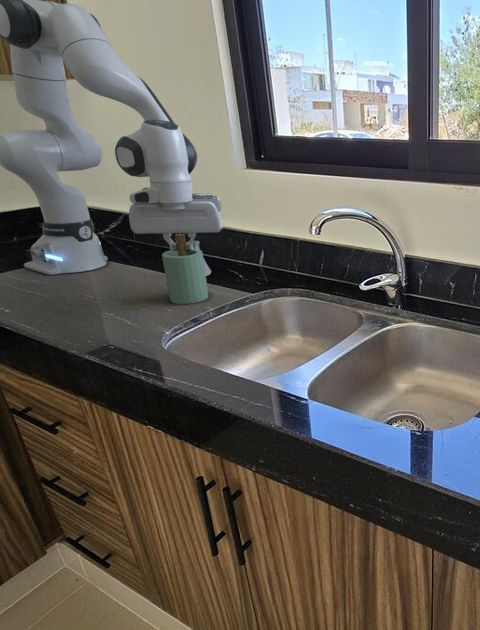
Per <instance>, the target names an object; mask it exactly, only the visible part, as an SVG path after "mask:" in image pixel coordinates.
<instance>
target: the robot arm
mask: <svg viewBox="0 0 480 630" xmlns="http://www.w3.org/2000/svg"><path fill="white" fill-rule="evenodd" d="M0 37H1V38H2V40H4V41H5V42H6V43H7V44H8V45H9V47H10V48H9V49H10V53H9V54H10V66H11V73H12V77H13V79H12V80H13V84H14V90H15V96H16V101H17V103H18V104H19V106H20V107H21V108H22V109H23V110H24V111H25V112H27V113H29V114H31V115H33V116H34V117H37V118H39V119H42V121H43V122H44V125H45V126H44V127H45V129H42V130H40V129H39V130H38V129H37V130H36V129H35V130H33V129H27V130H25V129H17V130H16V129H15V130H11V131H9V130H8V131H5V132H0V166H1V167H2V168H3V169H5V170H6V171H8V172H10V173H11V174H14V175H16V176H17V177H19V178H20V179H21V180H22V181H24V182H25V183H26V184H27V185H28V187H29V188H30V189H31V190H32V191H33V194H34V195H35V197H36V200H37V202H38V205H39V208H40V211H41V214H42V219H43V222H41V223H38V225H39V228H42V235H41V236H40V237H39V238H38V239H37V240H36V242H34V243H33V244H32V245H31V247H30V248H29V249H26V250H25V253H24V254H23V255H22V257H21V262H25V260H26V258H27V259H28V260H29V261H27V262H25V263H23V267H24V268H26V269H28V270H33V271H35V272H38V273H41V274H45V275H49V276H50V275H58V274H59V275H60V274H71V273H82V272H88V271H92V270H97V269H100V268H103V267H104V266H106V265H107V264H108V263H107V261H108V260H109V258H108V256H106V255H105V254H104V251H103V248H102V244H101V241H100V239H99V237H98V235H97V234H96V233H95V227H94V226H95V225H94V221H93V219H92V218H91V217H90V212H89V208H88V203H87V200H86V196H85V194H84V193H83V191H82V190H80V189H79V188H77V187H75V186H73V185H71V184H69V183H64V182H63V181H62V179H60V176H59V174H58V172H71V171H72V172H75V171H84V170H88V169H92V168H95V167H98V166H99V165H100V164H101V162H102V159H103V149H102V147H101V144H100V142H99V141H98V140H97V138H96V137H95V136H93V135H92V134H91V133H89V132H88V131H87V130H85V128H83V127H82V125H80V123H79V122H78V121H77V119H76V117H75V115H74V112H73V110H72V106H71V102H70V97H69V91H68V84H67V77H66V70H65V67H66V68H67V70H68V72H69V74H70V75H71V76H72V77H73V78H74V80H75V81H76V82H77V83H78V84H79V85H80V86H81V87H82V88H84V89H85V90H86V91H88V92H90V93H93V94H95V95H98V96H100V97H104V98H108V99H110V100H113V101H116V102H119V103H121V104H124V105H125V106H127V107H130V108H131V109H133V110H134V111H136V112H137V113H138V114H139V115H140V116H141V117H142V119H143V122H142V123H141V125H140V127H139V129H137V130H136V131H134V132H133V133H130V134H128V135H124V136H121V137H120V138H119V139H118V140H117V142H116V144H115V148H114V153H115V160H116V162H117V165H118V166H119V167H120V169H121V170H122V171H123V172H124V173H125V174H127V175H128V176H131V177H135V178H136V177H137V178H149V187H144V188H142V189H140V190H137V191H134V192H132V193H130V194H129V201H130V202H131V205H130V207H129V209H128V218H129V226H130V229H131V231H132V232H133V233H134V234H136V235H138V234H139V235H141V234H142V235H147V234H149V235H150V234H162V237H163V240H165V241H166V243H167V244H168V245H169V248H170V249H169V250H171V251H178V249H177V243H176V242H175V241H174V240H173V239H172V238H171V237H172V236H173V235H172V234H187V237H188V238H190V239H189V241H187V242H185V247H186V248H185V250H186V251H192V250H193V241H195V239H196V237H197V234H198V233H220V232H221V231H222V230H223V227H224V223H223V219H222V214H221V210H222V204H221V200H220V198H219V197H218V196H217V195H214V194H213V193H194V190H193V184H192V183H193V182H192V178H191V176H190V174H191V173H192V172H193V171H194V169H195V167H196V165H197V163H198V154H197V150H196V148H195V146H194V144H193V143H192V142H191V140H190V139H189V138H188V137H187V136H186V135H185V134H184V133H183V132H182V128H180V126H179V125H178V124H177V123H175V121H174V120H173V119H172V117H171V116H170V115H169V113H168V112H167V110H166V108H165V107H164V106H163V104H162V103H161V102H160V100H159V98H158V97H157V96H156V94H155V93H154V92H153V90H152V89H151V88H150V86H149V85H148V84H147V82H146V81H145V80H143V79H142V78H141V77H140V76H138V75H137V74H136V73H135V72H134V71H132V69H130V68H129V67H128V65H126V64H125V62H124V61H123V60H122V59H121V57H120V56H119V55H118V53H117V52H116V50H115V48H114V47H113V45H112V43H111V42H110V40H109V38H108V36H107V35H106V33H105V32H104V30H103V29H102V26H101V24H100V22H99V20H98V19H97V18H96V16H95V15H94V14H92V13H90V12H89V11H88V10H87V9H86V8H85V7H82V6H81V5H79V4H74V3H69V2H68V3H66V2H65V3H59V2H55V1H49V0H0ZM64 65H65V66H64Z"/></svg>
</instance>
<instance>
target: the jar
mask: <svg viewBox="0 0 480 630" xmlns="http://www.w3.org/2000/svg"><path fill="white" fill-rule="evenodd" d="M161 258H162V263H163V264H162V265H163V269H164V274H165V280H166V286H167V292H168V297H169V300H170V302H171V303H172V304H177V305H191V304H196V303H197V304H198V303H200V302H204V301H205V300H207V299H208V298H209V290H208V283H207V276H206V275H205V268H204V261H203V258H204V254H203V250H201V249H200V250H198V249H193V250H192V251H187V256H179V255H178V251H171V249H169V250H167V251H164V252H163V253H161Z"/></svg>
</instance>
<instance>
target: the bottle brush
mask: <svg viewBox="0 0 480 630" xmlns="http://www.w3.org/2000/svg"><path fill="white" fill-rule="evenodd" d="M174 236H175V243H177V249H178V255H179V256H187V251H186V250H185V248H186V247H185V243H186V237H185V233H176V234H175V235H174Z"/></svg>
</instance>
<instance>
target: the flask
mask: <svg viewBox="0 0 480 630" xmlns="http://www.w3.org/2000/svg"><path fill="white" fill-rule="evenodd" d="M193 249H198V250H201V249H200V241H199V240H194V241H193ZM203 261H204V268H205V275H206V277H207V276H210V275H211V273H212V270H211V268H210V267H209V266H208V265H209V264H207V261H206V260H205V258H204V257H203Z"/></svg>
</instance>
